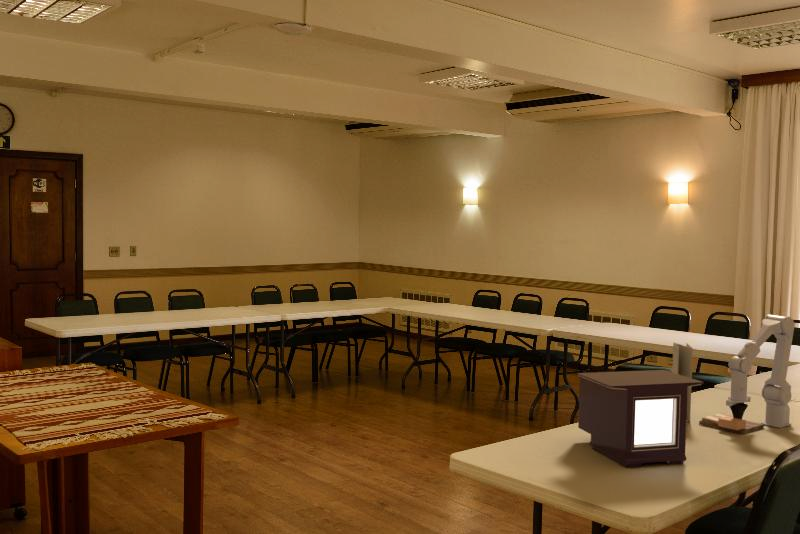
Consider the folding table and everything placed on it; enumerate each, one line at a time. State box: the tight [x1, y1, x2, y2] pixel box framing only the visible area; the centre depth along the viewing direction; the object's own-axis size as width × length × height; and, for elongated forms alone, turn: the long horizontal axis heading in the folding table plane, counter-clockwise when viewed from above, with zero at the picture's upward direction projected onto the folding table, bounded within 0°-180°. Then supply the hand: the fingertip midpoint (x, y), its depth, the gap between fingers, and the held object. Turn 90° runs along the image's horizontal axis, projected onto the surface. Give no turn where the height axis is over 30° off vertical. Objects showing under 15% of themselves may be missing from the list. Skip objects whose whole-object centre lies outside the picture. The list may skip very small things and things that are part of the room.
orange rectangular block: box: [718, 416, 747, 430], centre depth 303 cm, size 6×8×3 cm
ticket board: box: [698, 412, 765, 435], centre depth 311 cm, size 16×18×3 cm
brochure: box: [671, 342, 694, 423], centre depth 323 cm, size 14×6×30 cm, turn 168°
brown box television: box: [576, 369, 705, 469], centre depth 273 cm, size 35×35×27 cm
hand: (737, 422), depth 305 cm, fingers closed
